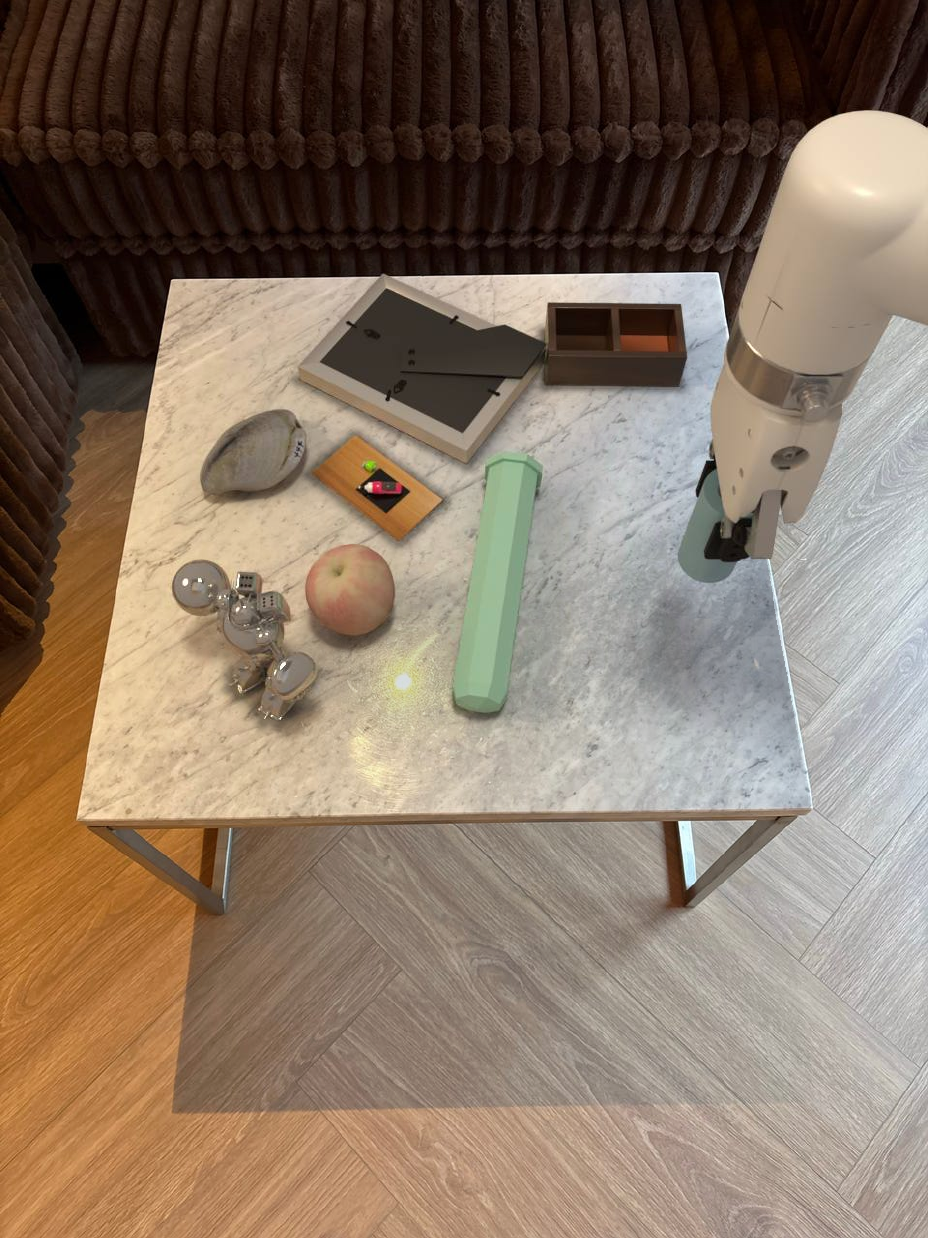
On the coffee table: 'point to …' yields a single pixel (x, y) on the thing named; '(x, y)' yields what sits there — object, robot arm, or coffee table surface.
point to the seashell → (254, 453)
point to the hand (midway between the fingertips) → (721, 523)
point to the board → (377, 487)
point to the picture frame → (424, 366)
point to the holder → (614, 344)
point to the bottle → (704, 535)
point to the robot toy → (248, 631)
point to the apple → (350, 589)
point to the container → (496, 582)
